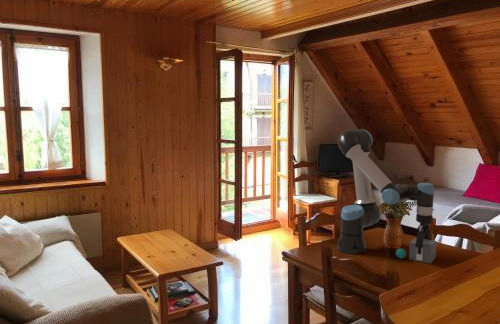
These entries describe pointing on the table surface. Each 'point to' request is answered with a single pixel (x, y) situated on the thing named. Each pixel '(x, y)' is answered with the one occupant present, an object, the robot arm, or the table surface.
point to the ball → (400, 253)
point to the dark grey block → (428, 250)
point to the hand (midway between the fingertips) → (422, 256)
